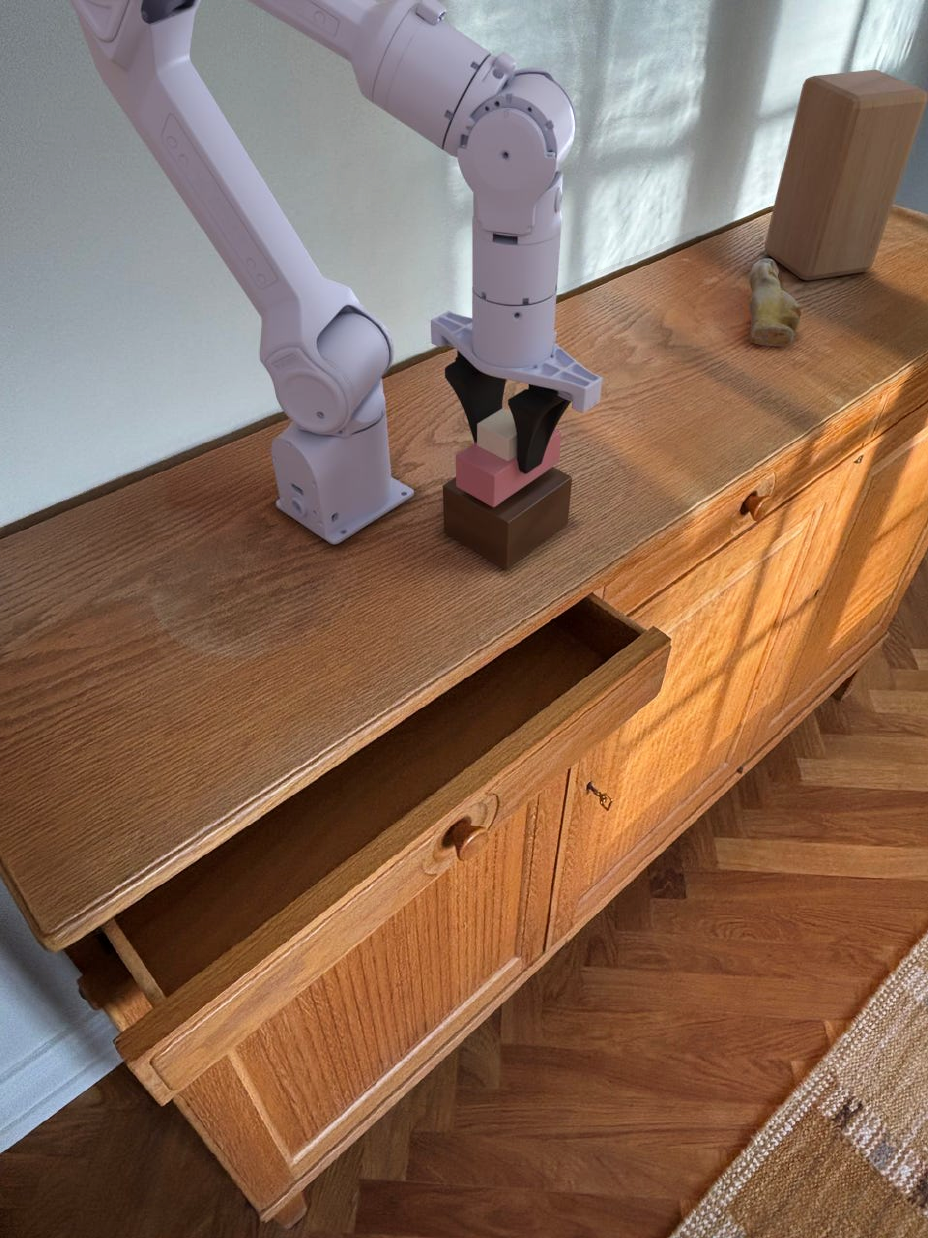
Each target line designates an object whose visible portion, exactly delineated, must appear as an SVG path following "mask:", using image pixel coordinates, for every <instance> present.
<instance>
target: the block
mask: <svg viewBox="0 0 928 1238" xmlns="http://www.w3.org/2000/svg"><path fill="white" fill-rule="evenodd" d="M927 104H928V92H927V91H926V89H923V88H921V87H918V86H916V85H914V84H912V83H909V82H907V81H904V80H902V79H899V78H897V77H895V76H892V75H890V74H887V73H885V72H883V71H880V70H878V69H867V70H858V71H848V72H839V73H829V74H828V73H827V74H820V75H819V74H818V75H812V76H809V77H808V78H806V79H805V80H804V82H803V83H802V87H801V91H800V94H799V98H798V104H797V108H796V111H795V116H794V120H793V124H792V129H791V133H790V137H789V141H788V146H787V149H786V154H785V158H784V162H783V167H782V170H781V175H780V179H779V183H778V187H777V192H776V195H775V200H774V203H773V207H772V211H771V217H770V220H769V225H768V230H767V234H766V237H765V242H764V251H765V253H766V254H767V255H769V257H771V258H773V260H774V261H777V262H778V263H780V264H781V266H783V267H785V268H786V269H787V270H788V271H790V272H791V273H793V274H794V275H795V276H796V277H798V278H799V279H801V280H803V281H814V280H820V279H821V280H822V279H827V278H832V277H839V276H846V275H852V274H858V273H859V274H860V273H865V272H867V271H869V270H871V268H872V267H873V265H874V262H875V259H876V257H877V254H878V250H879V247H880V244H881V242H882V238H883V235H884V232H885V229H886V226H887V223H888V220H889V217H890V215H891V211H892V208H893V205H894V202H895V200H896V196H897V193H898V190H899V188H900V185H901V181H902V179H903V175H904V172H905V170H906V166H907V163H908V160H909V157H910V154H911V151H912V148H913V146H914V142H915V139H916V136H917V134H918V130H919V128H920V124H921V121H922V118H923V116H924V112H925V109H926V106H927Z"/></svg>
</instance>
